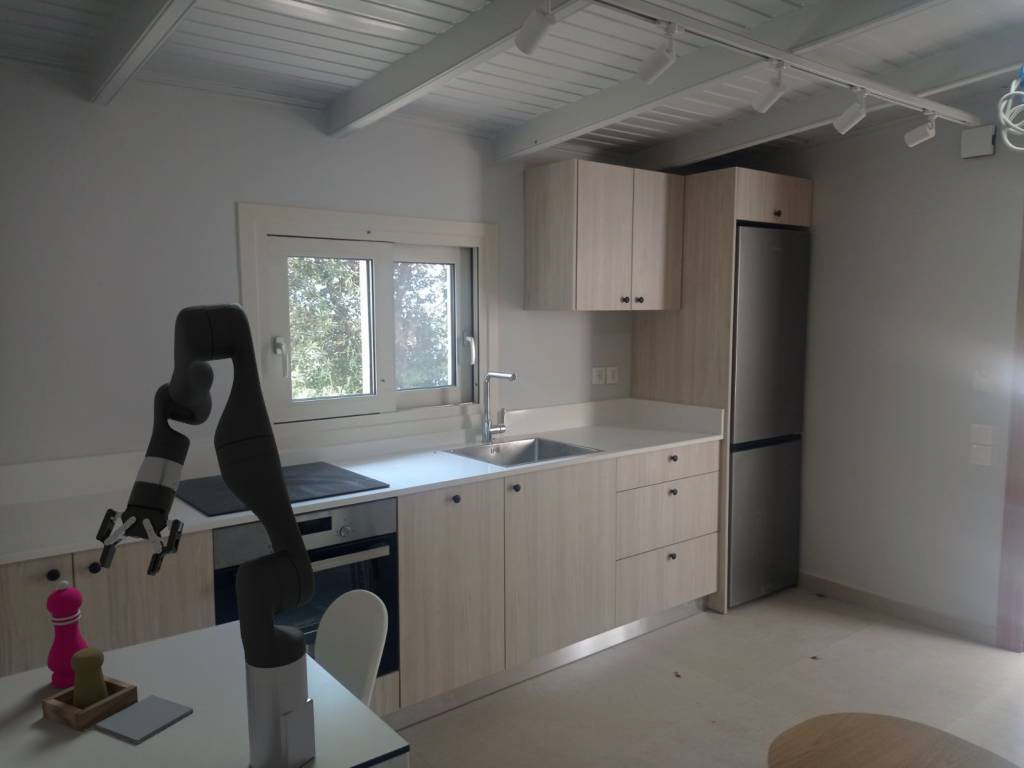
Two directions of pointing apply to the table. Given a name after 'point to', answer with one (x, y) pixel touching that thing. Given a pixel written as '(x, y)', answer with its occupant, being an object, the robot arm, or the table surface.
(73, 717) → the walnut collar
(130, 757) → the table surface
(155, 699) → the rubber mat
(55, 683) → the pepper mill
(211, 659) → the table surface
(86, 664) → the cork
